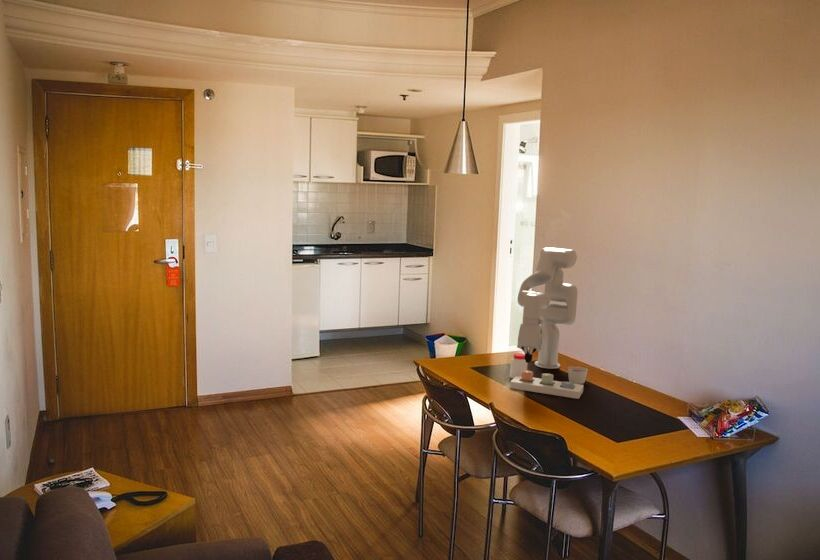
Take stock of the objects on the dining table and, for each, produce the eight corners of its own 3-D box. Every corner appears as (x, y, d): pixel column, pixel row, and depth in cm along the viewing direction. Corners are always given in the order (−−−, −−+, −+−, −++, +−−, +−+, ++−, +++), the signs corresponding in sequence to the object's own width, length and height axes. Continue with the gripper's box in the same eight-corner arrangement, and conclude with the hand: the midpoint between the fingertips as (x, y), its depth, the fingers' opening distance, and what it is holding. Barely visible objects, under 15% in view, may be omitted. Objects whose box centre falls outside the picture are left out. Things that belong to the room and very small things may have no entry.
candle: (574, 385, 310) (575, 372, 309) (562, 380, 318) (563, 367, 317) (590, 384, 313) (591, 370, 313) (578, 378, 322) (579, 365, 321)
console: (516, 381, 312) (517, 375, 312) (583, 391, 301) (583, 385, 300) (510, 388, 301) (510, 381, 301) (578, 398, 290) (579, 392, 289)
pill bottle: (525, 375, 322) (527, 353, 321) (526, 380, 315) (528, 357, 313) (509, 374, 323) (510, 352, 322) (510, 379, 315) (511, 356, 314)
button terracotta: (522, 378, 307) (523, 369, 307) (533, 380, 305) (534, 371, 305) (520, 381, 303) (520, 372, 302) (531, 382, 301) (531, 374, 300)
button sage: (542, 381, 304) (543, 372, 303) (553, 383, 302) (554, 374, 301) (540, 384, 299) (540, 375, 299) (551, 386, 297) (552, 377, 297)
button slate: (562, 389, 301) (563, 380, 300) (573, 391, 299) (574, 382, 298) (560, 392, 296) (561, 383, 296) (572, 394, 294) (572, 385, 294)
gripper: (549, 322, 301) (546, 362, 303) (516, 318, 306) (513, 358, 309) (546, 325, 294) (543, 366, 296) (512, 320, 299) (509, 361, 302)
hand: (528, 362), depth 302 cm, fingers closed
